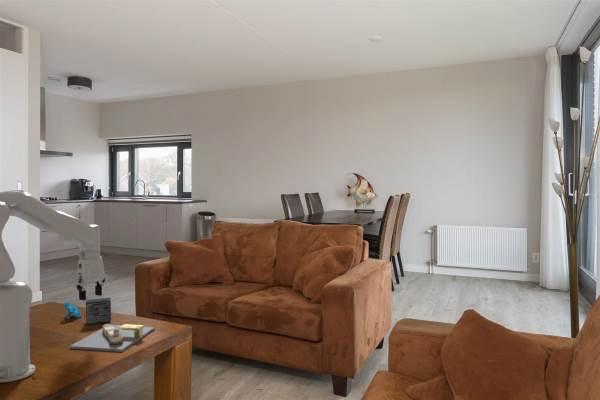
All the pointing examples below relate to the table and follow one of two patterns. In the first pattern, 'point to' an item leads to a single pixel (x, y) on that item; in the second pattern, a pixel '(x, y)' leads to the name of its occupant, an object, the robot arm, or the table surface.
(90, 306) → the small box
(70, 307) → the blue irregular piece
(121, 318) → the table surface
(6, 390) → the table surface
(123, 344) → the board
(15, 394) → the table surface
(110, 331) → the link
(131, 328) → the keeper
